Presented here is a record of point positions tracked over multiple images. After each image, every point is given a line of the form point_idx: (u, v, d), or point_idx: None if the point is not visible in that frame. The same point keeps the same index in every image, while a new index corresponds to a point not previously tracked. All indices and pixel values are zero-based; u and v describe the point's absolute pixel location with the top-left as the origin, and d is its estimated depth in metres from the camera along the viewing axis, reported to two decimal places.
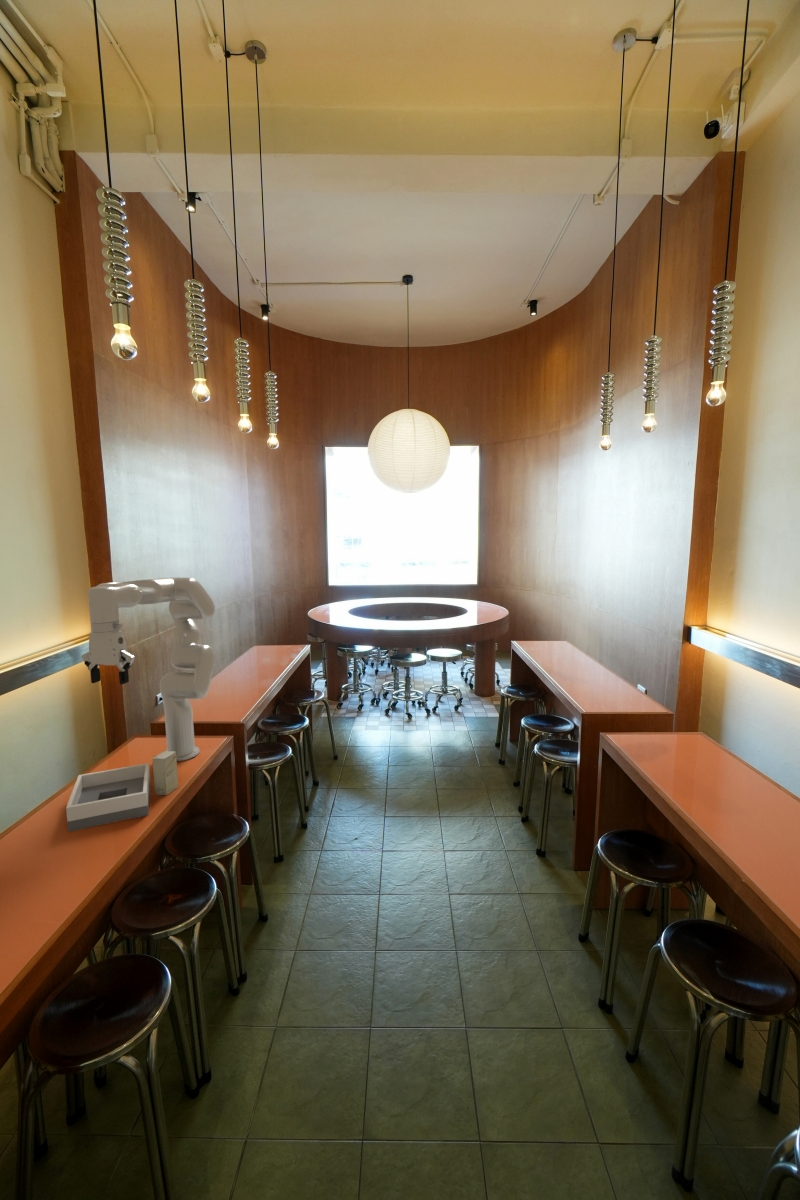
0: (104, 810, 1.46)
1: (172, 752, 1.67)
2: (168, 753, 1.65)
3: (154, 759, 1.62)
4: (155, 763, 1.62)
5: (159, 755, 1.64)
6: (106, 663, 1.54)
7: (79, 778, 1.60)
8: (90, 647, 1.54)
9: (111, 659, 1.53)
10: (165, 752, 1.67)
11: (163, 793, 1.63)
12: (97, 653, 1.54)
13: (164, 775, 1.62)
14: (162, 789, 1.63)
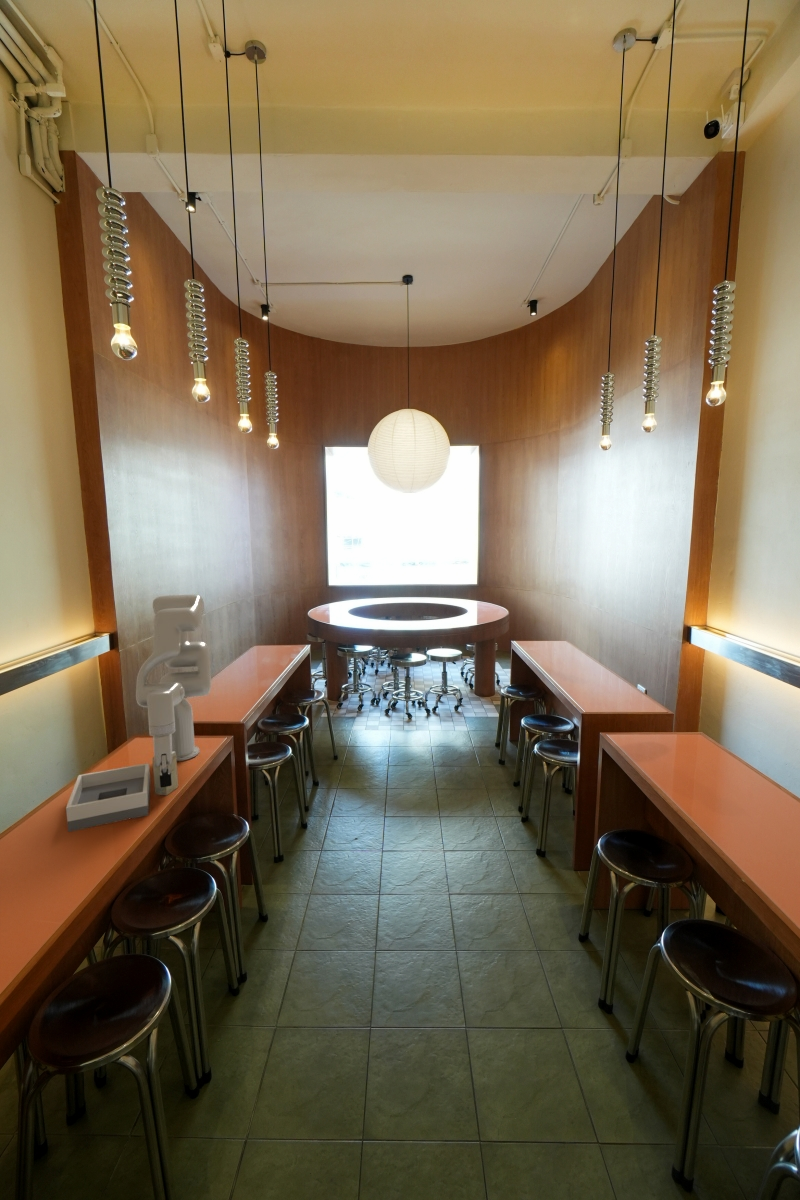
0: (104, 810, 1.46)
1: (172, 752, 1.66)
2: None
3: None
4: None
5: None
6: None
7: (79, 778, 1.60)
8: (171, 748, 1.62)
9: None
10: None
11: (163, 793, 1.63)
12: None
13: None
14: (162, 788, 1.63)
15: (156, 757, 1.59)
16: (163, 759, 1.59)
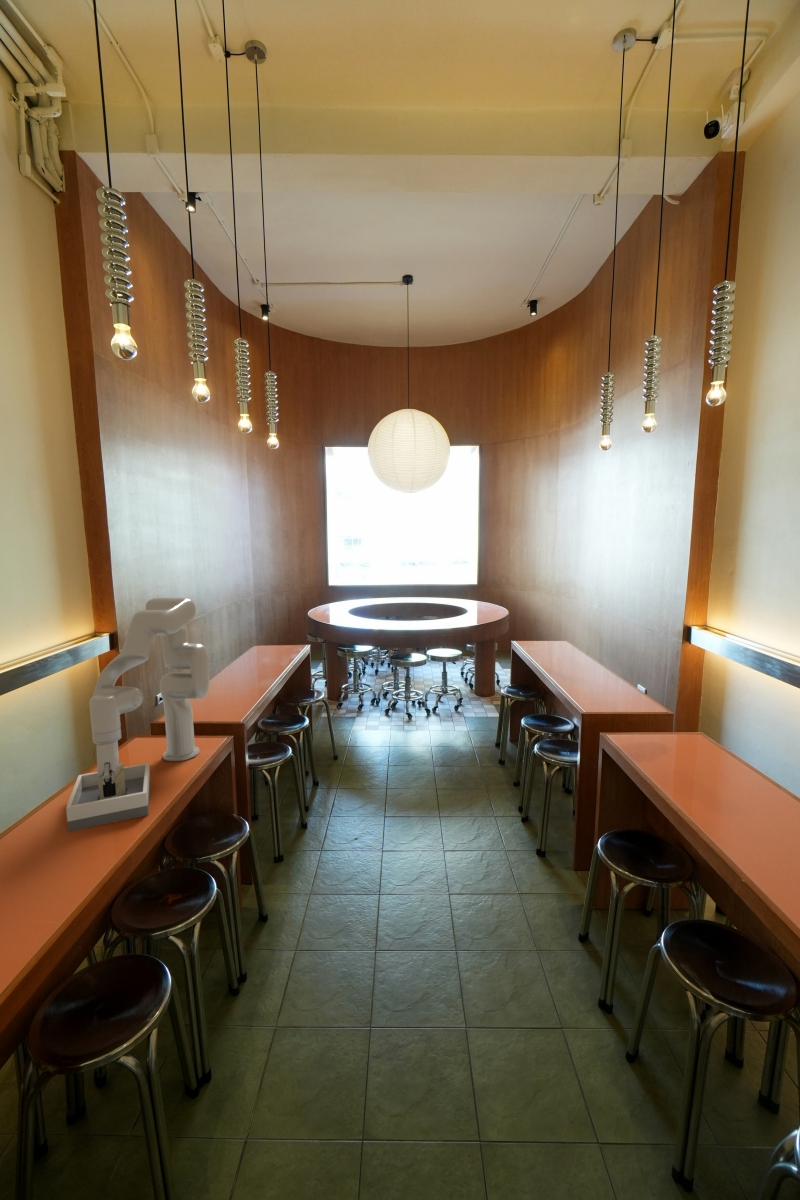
0: (104, 810, 1.46)
1: (119, 764, 1.58)
2: None
3: None
4: None
5: None
6: None
7: (79, 778, 1.60)
8: (115, 756, 1.53)
9: (118, 759, 1.59)
10: None
11: None
12: (117, 759, 1.55)
13: None
14: None
15: (99, 766, 1.50)
16: (106, 767, 1.50)
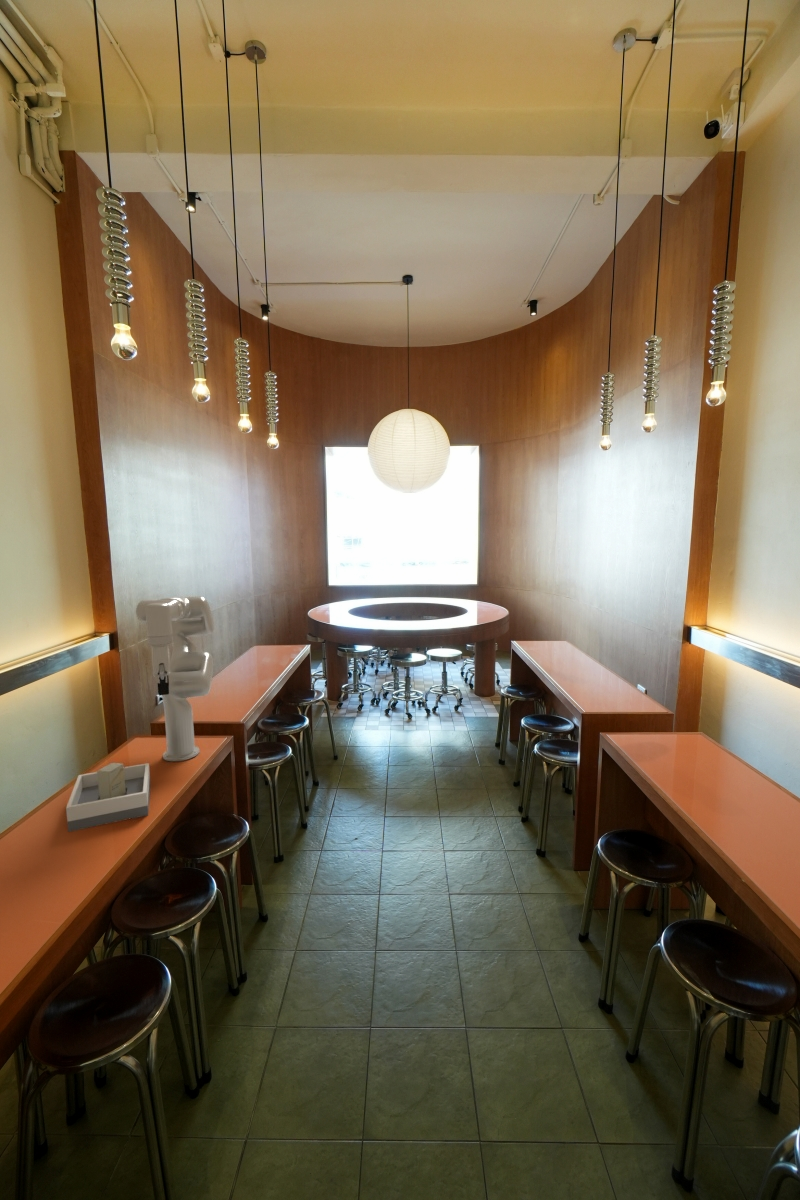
0: (104, 810, 1.46)
1: (119, 764, 1.58)
2: (115, 766, 1.57)
3: (99, 772, 1.54)
4: (100, 776, 1.54)
5: (105, 767, 1.56)
6: None
7: (79, 778, 1.60)
8: (168, 659, 1.68)
9: None
10: (112, 764, 1.58)
11: None
12: (169, 663, 1.70)
13: (110, 789, 1.54)
14: None
15: (154, 666, 1.65)
16: (161, 666, 1.65)
